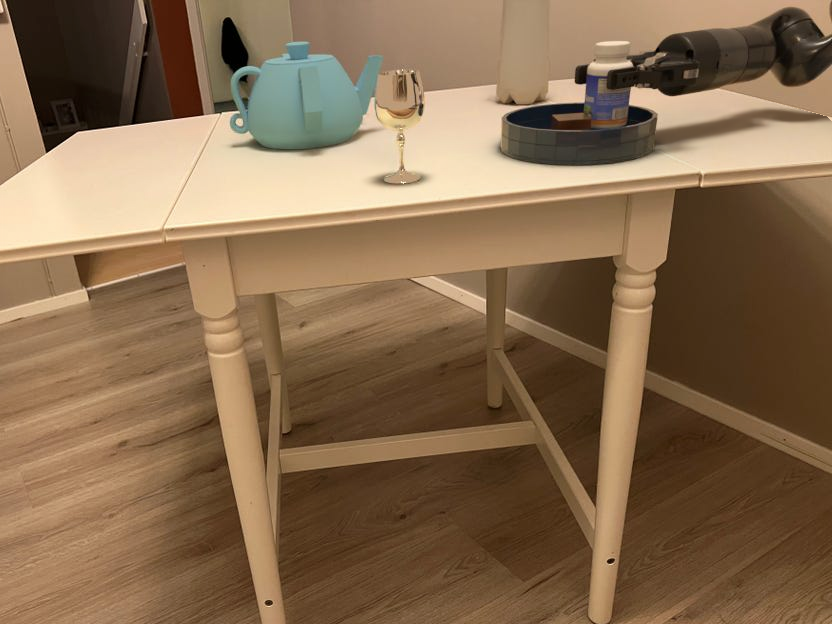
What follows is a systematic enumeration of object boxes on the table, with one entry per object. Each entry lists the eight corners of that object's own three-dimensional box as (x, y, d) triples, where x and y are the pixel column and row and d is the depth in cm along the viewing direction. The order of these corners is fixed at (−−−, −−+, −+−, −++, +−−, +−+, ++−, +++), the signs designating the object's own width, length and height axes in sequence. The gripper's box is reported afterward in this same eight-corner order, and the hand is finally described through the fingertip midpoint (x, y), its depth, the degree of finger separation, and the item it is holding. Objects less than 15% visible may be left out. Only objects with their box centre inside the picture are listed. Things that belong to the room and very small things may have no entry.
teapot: (315, 156, 98) (305, 48, 92) (217, 147, 109) (202, 50, 102) (389, 129, 112) (385, 34, 105) (297, 123, 122) (288, 36, 116)
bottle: (527, 107, 120) (538, -103, 106) (485, 103, 126) (489, -96, 112) (558, 98, 125) (572, -102, 111) (515, 95, 131) (523, -96, 117)
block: (580, 144, 92) (583, 112, 90) (588, 151, 89) (591, 118, 87) (549, 146, 92) (551, 114, 90) (556, 153, 89) (558, 120, 87)
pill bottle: (581, 121, 93) (587, 41, 89) (624, 120, 92) (633, 38, 87) (584, 130, 89) (590, 46, 84) (629, 128, 87) (638, 43, 83)
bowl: (635, 128, 100) (638, 99, 98) (670, 161, 83) (675, 127, 82) (497, 134, 103) (498, 106, 101) (505, 167, 86) (506, 134, 84)
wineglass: (433, 180, 83) (431, 72, 78) (387, 187, 82) (382, 77, 76) (415, 170, 88) (413, 67, 82) (372, 176, 87) (366, 72, 81)
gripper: (662, 27, 96) (558, 41, 91) (751, 32, 84) (637, 48, 79) (654, 86, 99) (554, 102, 94) (739, 98, 88) (629, 118, 83)
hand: (592, 77), depth 87 cm, fingers closed on pill bottle, 5 cm apart
